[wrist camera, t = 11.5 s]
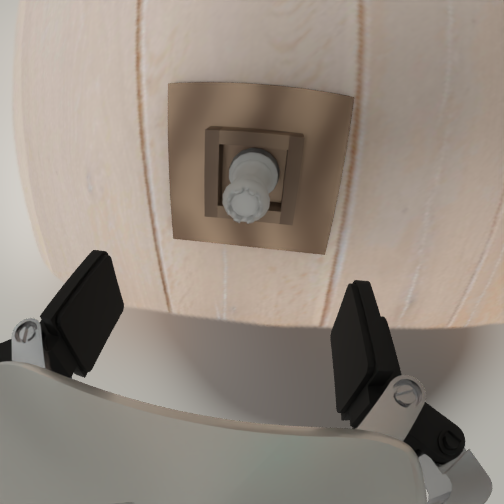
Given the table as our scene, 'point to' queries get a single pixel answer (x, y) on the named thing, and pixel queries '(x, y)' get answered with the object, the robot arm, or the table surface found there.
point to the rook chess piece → (250, 185)
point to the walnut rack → (261, 137)
